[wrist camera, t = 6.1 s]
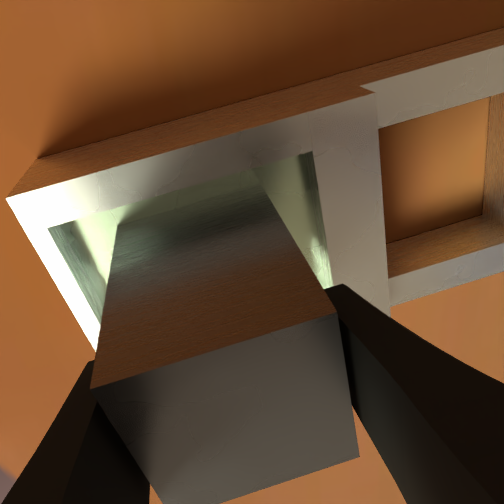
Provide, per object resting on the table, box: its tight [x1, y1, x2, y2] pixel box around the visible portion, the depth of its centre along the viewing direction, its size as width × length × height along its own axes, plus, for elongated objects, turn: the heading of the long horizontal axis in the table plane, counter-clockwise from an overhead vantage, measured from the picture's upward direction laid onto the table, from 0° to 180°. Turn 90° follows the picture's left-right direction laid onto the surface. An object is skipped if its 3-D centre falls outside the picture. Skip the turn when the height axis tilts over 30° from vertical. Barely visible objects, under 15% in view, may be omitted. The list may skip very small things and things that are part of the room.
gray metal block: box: [90, 184, 360, 504], centre depth 11 cm, size 4×4×6 cm
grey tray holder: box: [6, 28, 504, 351], centre depth 14 cm, size 16×8×3 cm, turn 103°
